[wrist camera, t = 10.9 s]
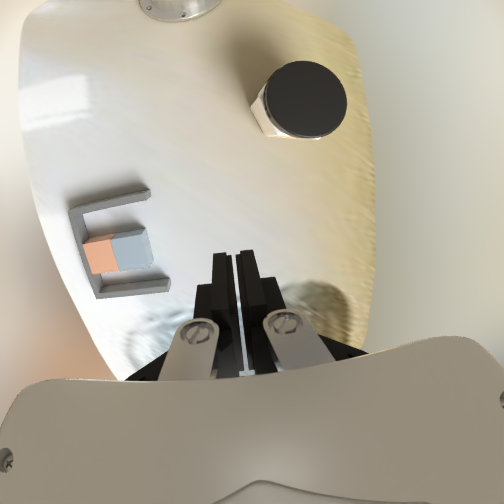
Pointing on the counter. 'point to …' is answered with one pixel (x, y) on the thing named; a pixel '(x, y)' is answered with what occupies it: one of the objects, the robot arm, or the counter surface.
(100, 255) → the tile
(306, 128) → the jar
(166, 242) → the counter surface
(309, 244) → the counter surface
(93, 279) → the tray
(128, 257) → the tile
